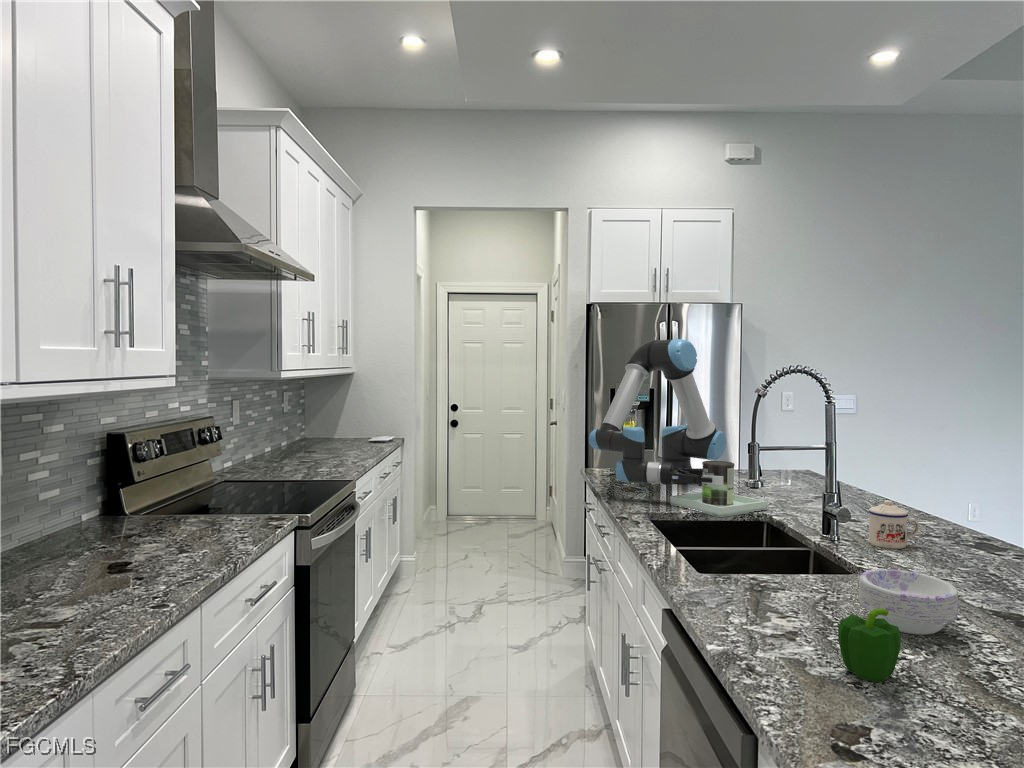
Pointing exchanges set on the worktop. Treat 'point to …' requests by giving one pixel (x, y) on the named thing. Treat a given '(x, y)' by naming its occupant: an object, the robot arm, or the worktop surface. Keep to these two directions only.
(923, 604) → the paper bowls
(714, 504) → the coffee can
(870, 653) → the bell pepper
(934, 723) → the worktop surface
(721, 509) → the tray
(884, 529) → the teacup with lid
